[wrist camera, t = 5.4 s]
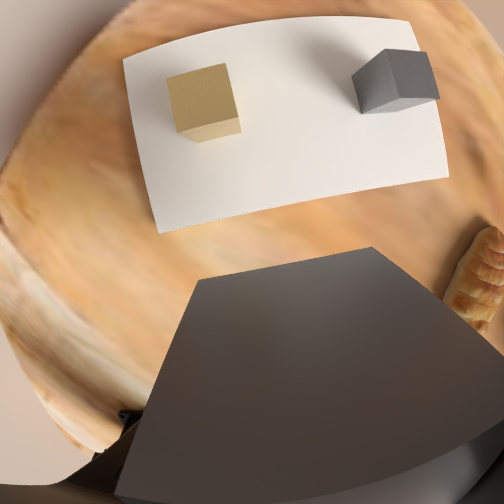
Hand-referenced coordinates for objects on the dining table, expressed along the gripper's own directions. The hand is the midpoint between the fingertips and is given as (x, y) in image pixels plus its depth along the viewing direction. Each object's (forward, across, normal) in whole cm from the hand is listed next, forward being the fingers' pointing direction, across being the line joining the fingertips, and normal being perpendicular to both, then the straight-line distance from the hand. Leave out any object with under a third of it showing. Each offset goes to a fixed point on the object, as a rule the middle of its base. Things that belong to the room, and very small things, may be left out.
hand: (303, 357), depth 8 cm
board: (+11, -3, -9) cm, 15 cm away
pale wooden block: (+10, +2, -9) cm, 14 cm away
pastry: (+12, -17, +6) cm, 22 cm away
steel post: (+10, -8, -9) cm, 16 cm away
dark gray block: (+1, 0, 0) cm, 1 cm away
